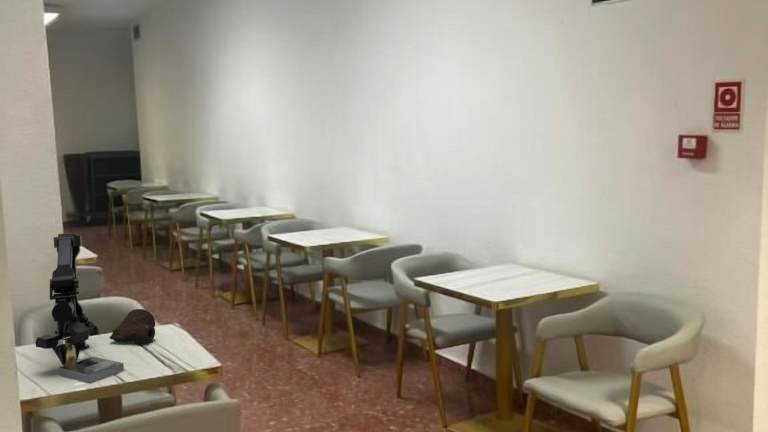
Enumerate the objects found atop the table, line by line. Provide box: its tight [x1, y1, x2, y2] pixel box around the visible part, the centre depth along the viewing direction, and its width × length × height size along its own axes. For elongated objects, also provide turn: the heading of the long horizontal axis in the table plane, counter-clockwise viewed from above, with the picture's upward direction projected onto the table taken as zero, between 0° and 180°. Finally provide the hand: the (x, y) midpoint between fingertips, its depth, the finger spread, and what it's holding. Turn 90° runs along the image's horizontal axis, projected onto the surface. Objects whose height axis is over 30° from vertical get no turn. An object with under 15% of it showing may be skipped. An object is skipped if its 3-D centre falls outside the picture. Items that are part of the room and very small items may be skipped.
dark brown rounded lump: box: [109, 308, 156, 345], centre depth 259 cm, size 10×15×15 cm
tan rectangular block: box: [62, 343, 78, 367], centre depth 230 cm, size 4×4×7 cm
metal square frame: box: [59, 356, 125, 384], centre depth 224 cm, size 14×12×3 cm
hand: (69, 362), depth 231 cm, fingers closed on tan rectangular block, 4 cm apart
